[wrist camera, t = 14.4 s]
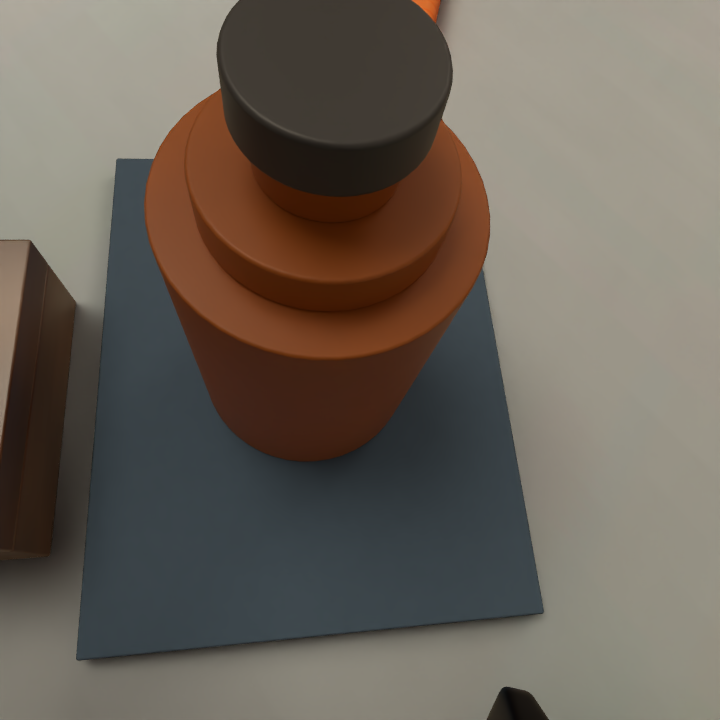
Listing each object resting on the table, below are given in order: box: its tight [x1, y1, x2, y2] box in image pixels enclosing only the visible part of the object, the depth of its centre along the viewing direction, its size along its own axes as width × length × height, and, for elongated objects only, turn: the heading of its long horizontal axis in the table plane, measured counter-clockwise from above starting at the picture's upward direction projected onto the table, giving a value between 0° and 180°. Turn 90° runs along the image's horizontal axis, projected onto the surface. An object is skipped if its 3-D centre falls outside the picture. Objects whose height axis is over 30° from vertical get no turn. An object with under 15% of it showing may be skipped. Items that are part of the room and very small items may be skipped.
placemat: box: [76, 159, 544, 661], centre depth 18 cm, size 15×12×1 cm
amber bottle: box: [144, 0, 490, 461], centre depth 12 cm, size 6×6×11 cm
